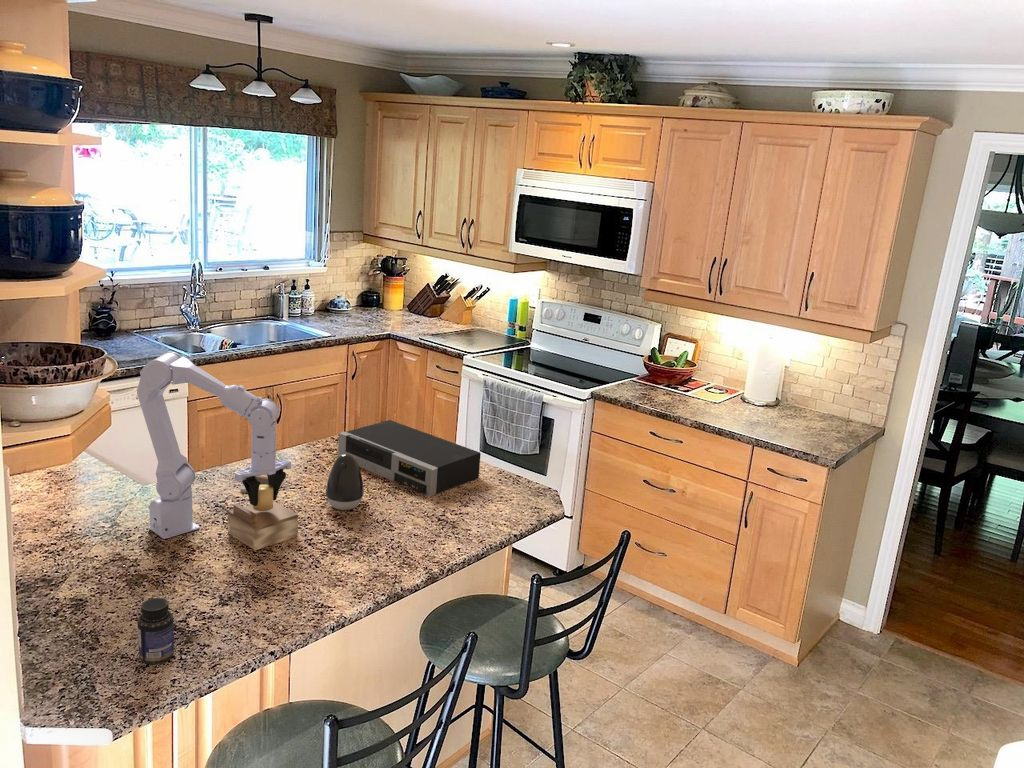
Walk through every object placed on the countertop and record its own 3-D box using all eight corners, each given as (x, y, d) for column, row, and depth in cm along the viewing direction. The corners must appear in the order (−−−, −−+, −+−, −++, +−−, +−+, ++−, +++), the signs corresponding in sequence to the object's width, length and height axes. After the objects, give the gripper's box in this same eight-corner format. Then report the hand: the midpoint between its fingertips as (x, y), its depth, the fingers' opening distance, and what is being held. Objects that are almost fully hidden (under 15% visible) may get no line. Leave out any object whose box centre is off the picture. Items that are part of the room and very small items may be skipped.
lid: (255, 530, 198) (255, 518, 198) (228, 514, 206) (228, 502, 205) (298, 517, 207) (298, 505, 206) (270, 501, 215) (270, 490, 214)
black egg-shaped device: (321, 513, 223) (323, 460, 218) (328, 497, 233) (330, 446, 228) (360, 515, 223) (362, 462, 219) (365, 500, 233) (367, 449, 229)
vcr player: (478, 479, 256) (481, 452, 254) (422, 501, 237) (424, 472, 234) (388, 444, 279) (389, 419, 277) (329, 461, 260) (330, 434, 258)
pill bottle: (181, 651, 159) (180, 600, 156) (158, 669, 153) (156, 616, 150) (155, 643, 161) (153, 592, 158) (131, 660, 155) (129, 607, 152)
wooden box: (255, 550, 200) (255, 531, 198) (228, 532, 207) (228, 514, 206) (297, 536, 209) (297, 517, 207) (270, 519, 216) (270, 502, 215)
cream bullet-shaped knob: (259, 512, 203) (259, 493, 201) (249, 506, 206) (249, 487, 204) (276, 507, 206) (277, 489, 205) (266, 501, 209) (266, 482, 208)
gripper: (246, 461, 194) (246, 514, 198) (298, 448, 205) (297, 499, 208) (229, 452, 198) (229, 505, 202) (281, 440, 209) (281, 490, 213)
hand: (263, 501), depth 206 cm, fingers closed on cream bullet-shaped knob, 5 cm apart
